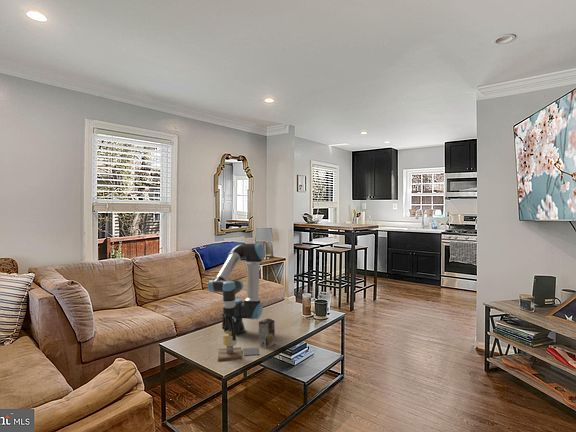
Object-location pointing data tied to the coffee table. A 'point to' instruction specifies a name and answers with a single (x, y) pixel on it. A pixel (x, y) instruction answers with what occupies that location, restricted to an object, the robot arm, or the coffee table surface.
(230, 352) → the post base
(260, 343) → the coffee box
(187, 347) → the coffee table surface
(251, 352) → the mat
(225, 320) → the robot arm
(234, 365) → the coffee table surface
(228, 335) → the yellow lidded jar
